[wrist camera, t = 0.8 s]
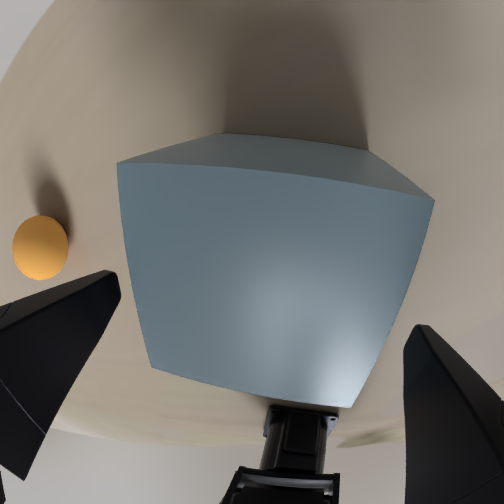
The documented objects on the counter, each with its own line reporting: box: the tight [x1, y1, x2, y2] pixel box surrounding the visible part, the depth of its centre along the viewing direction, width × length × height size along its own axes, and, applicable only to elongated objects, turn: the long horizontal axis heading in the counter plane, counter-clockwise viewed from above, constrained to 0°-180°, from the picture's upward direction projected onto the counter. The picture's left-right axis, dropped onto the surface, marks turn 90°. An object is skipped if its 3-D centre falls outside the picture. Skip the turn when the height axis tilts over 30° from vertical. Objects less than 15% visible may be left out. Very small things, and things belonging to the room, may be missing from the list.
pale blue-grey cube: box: [117, 133, 435, 408], centre depth 11 cm, size 8×8×9 cm
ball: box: [12, 216, 69, 280], centre depth 18 cm, size 5×5×5 cm
